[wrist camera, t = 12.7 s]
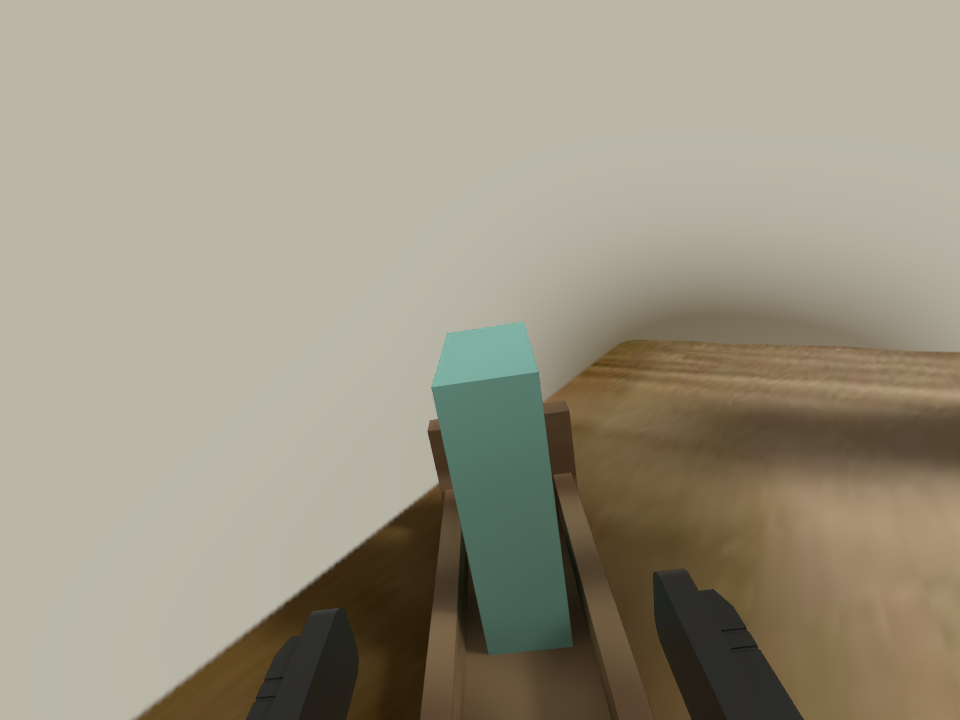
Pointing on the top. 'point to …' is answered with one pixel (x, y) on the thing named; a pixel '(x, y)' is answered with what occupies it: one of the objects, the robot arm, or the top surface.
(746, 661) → the robot arm
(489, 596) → the teal rectangular block
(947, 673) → the top surface
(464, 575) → the brown wooden drawer
